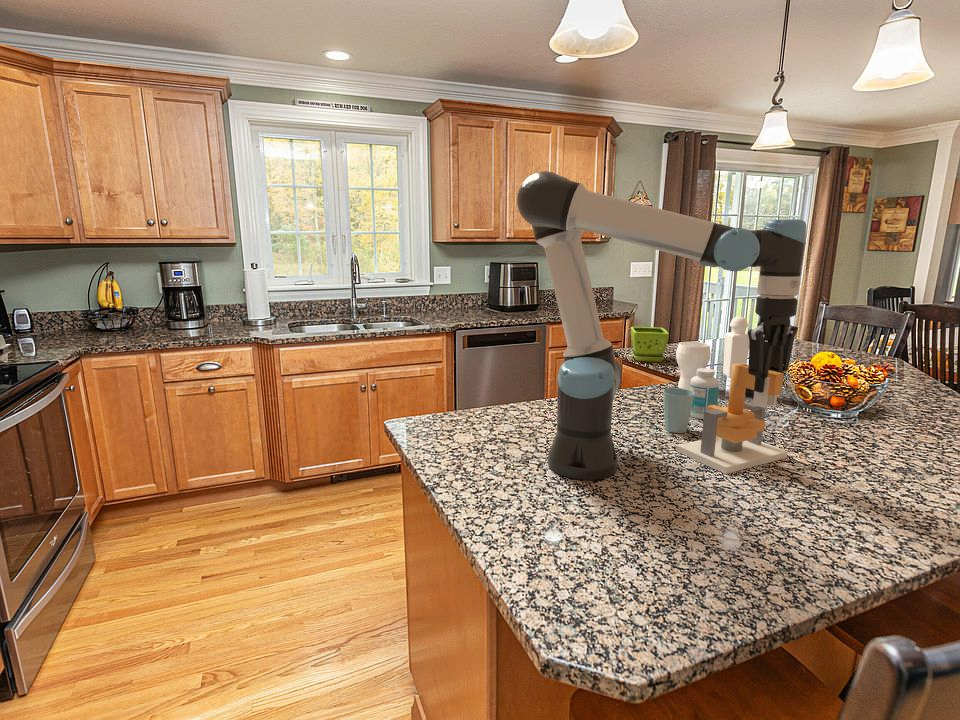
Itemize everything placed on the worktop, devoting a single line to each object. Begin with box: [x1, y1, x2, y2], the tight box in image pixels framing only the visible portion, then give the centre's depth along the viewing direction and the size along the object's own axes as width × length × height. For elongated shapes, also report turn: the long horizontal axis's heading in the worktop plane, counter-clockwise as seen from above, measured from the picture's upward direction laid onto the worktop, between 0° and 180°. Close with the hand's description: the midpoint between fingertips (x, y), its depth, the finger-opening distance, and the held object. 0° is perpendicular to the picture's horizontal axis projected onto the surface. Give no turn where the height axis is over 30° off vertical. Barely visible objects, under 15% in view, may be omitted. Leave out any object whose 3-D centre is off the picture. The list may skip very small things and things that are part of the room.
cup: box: [662, 387, 695, 434], centre depth 139 cm, size 8×8×10 cm
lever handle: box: [707, 363, 785, 443], centre depth 120 cm, size 8×16×17 cm, turn 27°
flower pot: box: [630, 326, 670, 363], centre depth 221 cm, size 14×14×13 cm
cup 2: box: [675, 341, 712, 390], centre depth 178 cm, size 11×11×15 cm
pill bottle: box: [690, 367, 720, 420], centre depth 150 cm, size 8×7×14 cm
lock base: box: [675, 401, 789, 475], centre depth 123 cm, size 20×14×11 cm
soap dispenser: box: [722, 315, 749, 378], centre depth 193 cm, size 6×6×22 cm
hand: (764, 404), depth 115 cm, fingers closed on lever handle, 2 cm apart
